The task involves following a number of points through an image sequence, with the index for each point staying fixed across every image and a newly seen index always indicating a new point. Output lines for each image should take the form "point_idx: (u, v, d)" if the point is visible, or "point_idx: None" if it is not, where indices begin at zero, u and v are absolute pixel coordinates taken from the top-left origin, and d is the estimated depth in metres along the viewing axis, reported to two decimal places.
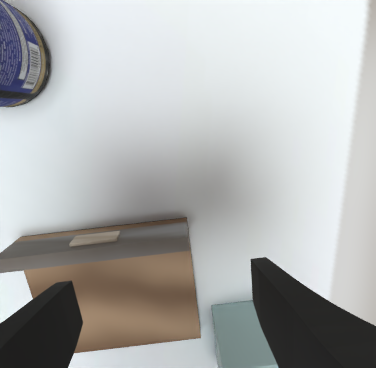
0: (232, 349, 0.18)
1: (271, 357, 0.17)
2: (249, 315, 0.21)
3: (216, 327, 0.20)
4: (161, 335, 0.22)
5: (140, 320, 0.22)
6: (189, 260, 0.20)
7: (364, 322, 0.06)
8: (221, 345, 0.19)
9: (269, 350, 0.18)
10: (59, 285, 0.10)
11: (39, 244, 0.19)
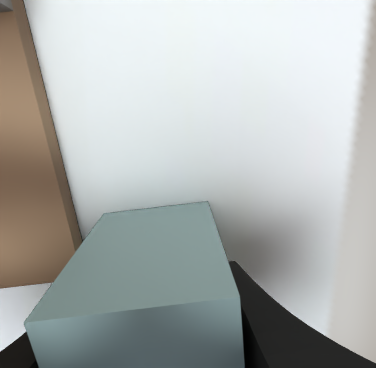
0: (89, 275, 0.07)
1: (184, 287, 0.06)
2: (169, 221, 0.10)
3: (86, 241, 0.09)
4: None
5: None
6: (28, 88, 0.09)
7: (310, 329, 0.06)
8: (70, 269, 0.07)
9: (186, 273, 0.06)
10: None
11: None
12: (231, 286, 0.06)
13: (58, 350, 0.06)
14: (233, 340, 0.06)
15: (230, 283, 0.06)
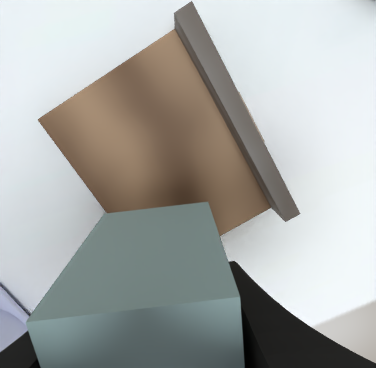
0: (90, 275, 0.07)
1: (185, 287, 0.06)
2: (169, 221, 0.10)
3: (86, 241, 0.09)
4: None
5: (145, 204, 0.18)
6: (240, 221, 0.19)
7: (310, 329, 0.06)
8: (71, 268, 0.07)
9: (186, 273, 0.06)
10: None
11: None
12: (231, 286, 0.06)
13: (59, 349, 0.06)
14: (233, 340, 0.06)
15: (230, 283, 0.06)
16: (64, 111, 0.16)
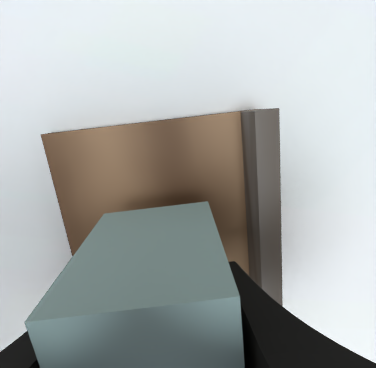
0: (89, 275, 0.07)
1: (185, 287, 0.06)
2: (169, 221, 0.10)
3: (86, 241, 0.09)
4: None
5: None
6: None
7: (310, 329, 0.06)
8: (71, 268, 0.07)
9: (186, 272, 0.06)
10: None
11: None
12: (231, 286, 0.06)
13: (59, 349, 0.06)
14: (233, 339, 0.06)
15: (230, 283, 0.06)
16: (76, 139, 0.13)
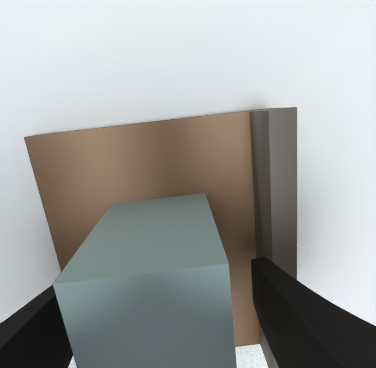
0: (103, 250, 0.08)
1: (183, 258, 0.07)
2: (170, 209, 0.11)
3: (97, 225, 0.10)
4: None
5: None
6: None
7: (364, 322, 0.06)
8: (86, 246, 0.08)
9: (185, 247, 0.08)
10: None
11: None
12: (222, 256, 0.07)
13: (80, 307, 0.07)
14: (223, 300, 0.07)
15: (221, 254, 0.07)
16: (64, 142, 0.12)
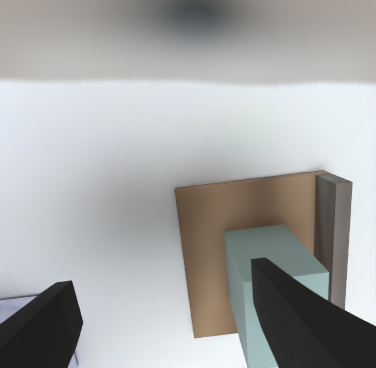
0: None
1: (303, 269, 0.14)
2: (269, 236, 0.18)
3: (231, 248, 0.17)
4: (199, 304, 0.21)
5: (220, 285, 0.20)
6: None
7: (364, 322, 0.06)
8: (239, 261, 0.15)
9: (299, 263, 0.14)
10: (59, 285, 0.10)
11: None
12: (323, 268, 0.14)
13: None
14: (324, 290, 0.14)
15: (322, 267, 0.14)
16: (199, 194, 0.18)
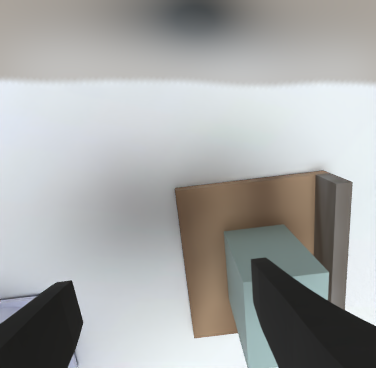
0: None
1: (303, 269, 0.14)
2: (269, 237, 0.18)
3: (231, 248, 0.17)
4: (199, 304, 0.21)
5: (220, 285, 0.20)
6: None
7: (364, 322, 0.06)
8: (239, 261, 0.15)
9: (299, 263, 0.14)
10: (59, 285, 0.10)
11: None
12: (323, 268, 0.14)
13: None
14: (324, 290, 0.14)
15: (322, 267, 0.14)
16: (199, 194, 0.18)
